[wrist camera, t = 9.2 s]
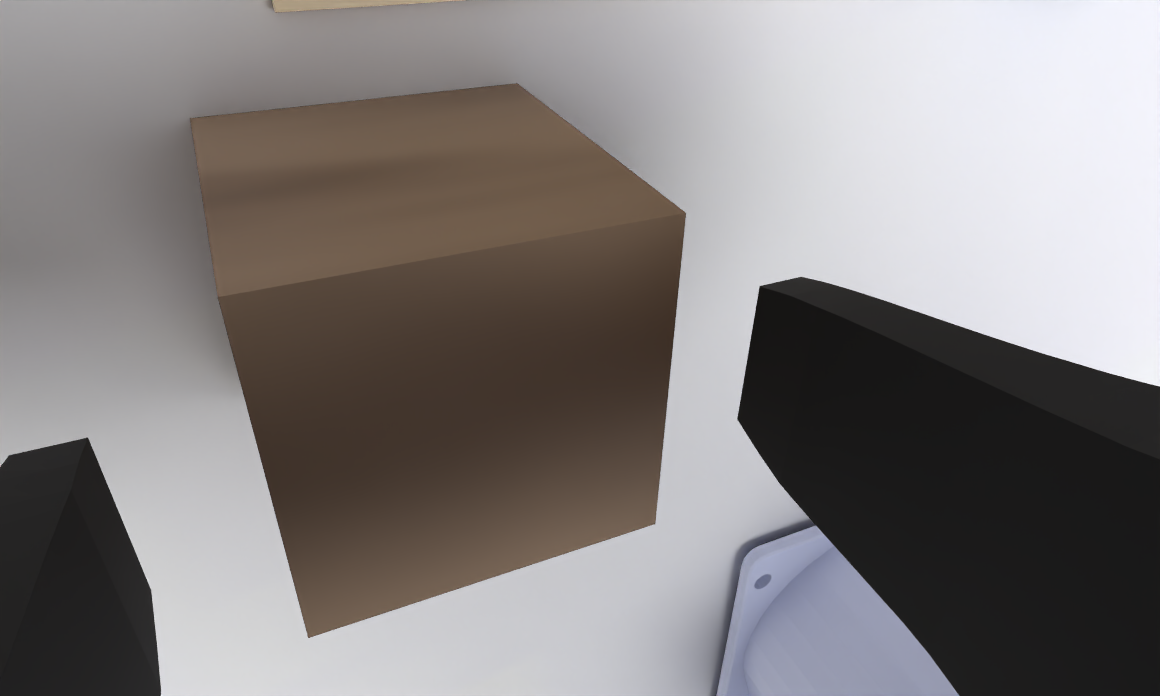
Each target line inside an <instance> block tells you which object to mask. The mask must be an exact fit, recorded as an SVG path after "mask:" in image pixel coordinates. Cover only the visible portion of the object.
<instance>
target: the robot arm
mask: <svg viewBox="0 0 1160 696" xmlns="http://www.w3.org/2000/svg"><path fill="white" fill-rule="evenodd" d="M738 421H739V423H740V424H741V426H742V427H743V429H744V430H745V432H746V434H747V435H748V437H749V438H750V440H751V442H752V443H753V445H754V446H755V448H756V449H757V451H758V453H759V454H760V456H761V457H762V459H763V460H764V461H765V463H766V464H767V466H768V467H769V469H770V470H771V472H772V473H773V474H774V476H775V477H776V479H777V480H778V482H779V483H780V484H781V486H782V487H783V488H784V489H785V490H786V491H787V493H788V494H789V495H790V496H791V497H792V499H793V500H794V501H795V502H796V503H797V504H798V505H799V507H800V508H801V509H802V510H803V511H804V512H805V513H806V515H807V516H808V517H809V518H810V519H811V520H812V521H813V523H814V524H815V525H816V526H813V527H810V528H807V529H804V530H802V531H799V532H796V533H793V534H790V535H788V536H785V537H782V538H779V539H776V540H774V541H771V542H768V543H765V544H762V545H760V546H758V547H756V548H754V549H752V550H751V551H750V552H749V553H748V554H747V555H746V556H745V558H744V560H743V562H742V566H741V571H740V576H739V582H738V587H737V592H736V597H735V602H734V608H733V613H732V618H731V623H730V628H729V634H728V639H727V644H726V649H725V654H724V660H723V665H722V670H721V675H720V680H719V686H718V691H717V696H1160V387H1159V386H1155V385H1151V384H1147V383H1143V382H1139V381H1135V380H1132V379H1128V378H1124V377H1120V376H1117V375H1113V374H1109V373H1106V372H1102V371H1099V370H1096V369H1092V368H1089V367H1086V366H1082V365H1079V364H1076V363H1072V362H1069V361H1066V360H1062V359H1059V358H1055V357H1052V356H1049V355H1045V354H1042V353H1039V352H1036V351H1033V350H1030V349H1026V348H1023V347H1020V346H1017V345H1014V344H1011V343H1008V342H1005V341H1002V340H999V339H996V338H993V337H990V336H987V335H984V334H981V333H978V332H975V331H972V330H969V329H966V328H963V327H960V326H957V325H954V324H951V323H948V322H945V321H942V320H939V319H936V318H934V317H931V316H928V315H925V314H922V313H919V312H916V311H913V310H910V309H907V308H904V307H901V306H898V305H895V304H892V303H890V302H887V301H884V300H881V299H878V298H875V297H871V296H868V295H865V294H862V293H859V292H856V291H853V290H849V289H846V288H843V287H839V286H836V285H832V284H829V283H825V282H821V281H817V280H813V279H808V278H804V277H799V278H794V279H790V280H785V281H781V282H776V283H772V284H767V285H763V286H760V288H759V294H758V300H757V306H756V312H755V318H754V324H753V329H752V335H751V341H750V347H749V353H748V359H747V365H746V371H745V377H744V383H743V389H742V395H741V401H740V407H739V413H738ZM0 696H161V686H160V675H159V664H158V652H157V642H156V632H155V623H154V614H153V604H152V595H151V589H150V587H149V584H148V582H147V579H146V577H145V575H144V572H143V570H142V567H141V565H140V562H139V560H138V558H137V555H136V553H135V550H134V548H133V546H132V543H131V541H130V538H129V536H128V533H127V531H126V529H125V526H124V524H123V521H122V519H121V517H120V514H119V512H118V509H117V507H116V504H115V502H114V500H113V497H112V495H111V492H110V490H109V488H108V485H107V483H106V480H105V478H104V475H103V473H102V471H101V468H100V466H99V463H98V461H97V458H96V456H95V454H94V451H93V449H92V446H91V444H90V442H89V439H88V438H84V439H80V440H75V441H71V442H67V443H62V444H58V445H53V446H49V447H44V448H40V449H36V450H31V451H27V452H22V453H18V454H13V455H9V456H8V458H7V459H6V460H5V462H4V463H3V464H2V465H1V467H0Z"/></svg>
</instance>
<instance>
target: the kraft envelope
mask: <svg viewBox="0 0 1160 696" xmlns="http://www.w3.org/2000/svg"><path fill="white" fill-rule="evenodd" d="M448 1H464V0H272V4H273V9H274V11H275V13H277V12H293V11H308V10H324V9H339V8H355V7H371V6H386V5H402V4H417V3H433V2H448Z"/></svg>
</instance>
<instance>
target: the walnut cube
mask: <svg viewBox="0 0 1160 696" xmlns="http://www.w3.org/2000/svg"><path fill="white" fill-rule="evenodd" d="M190 122H191V128H192V134H193V141H194V147H195V154H196V160H197V167H198V173H199V180H200V186H201V193H202V199H203V205H204V212H205V218H206V225H207V231H208V238H209V244H210V251H211V257H212V264H213V270H214V277H215V283H216V289H217V296H218V300H219V304H220V308H221V311H222V315H223V319H224V323H225V326H226V330H227V334H228V338H229V341H230V345H231V349H232V353H233V357H234V360H235V364H236V368H237V372H238V375H239V379H240V383H241V387H242V390H243V394H244V398H245V402H246V405H247V409H248V413H249V417H250V420H251V424H252V428H253V432H254V435H255V439H256V443H257V447H258V450H259V454H260V458H261V462H262V465H263V469H264V473H265V477H266V481H267V484H268V488H269V492H270V496H271V499H272V503H273V507H274V511H275V514H276V518H277V522H278V526H279V529H280V533H281V537H282V541H283V544H284V548H285V552H286V556H287V559H288V563H289V567H290V571H291V574H292V578H293V582H294V586H295V589H296V593H297V597H298V601H299V605H300V608H301V612H302V616H303V620H304V623H305V627H306V631H307V635H308V638H310V637H313V636H316V635H319V634H322V633H325V632H328V631H331V630H334V629H337V628H340V627H343V626H346V625H349V624H352V623H355V622H358V621H361V620H365V619H368V618H371V617H374V616H377V615H380V614H383V613H386V612H389V611H392V610H395V609H398V608H401V607H404V606H407V605H410V604H413V603H416V602H419V601H422V600H425V599H428V598H431V597H434V596H437V595H440V594H444V593H447V592H450V591H453V590H456V589H459V588H462V587H465V586H468V585H471V584H474V583H477V582H480V581H483V580H486V579H489V578H492V577H495V576H498V575H501V574H504V573H507V572H510V571H513V570H516V569H520V568H523V567H526V566H529V565H532V564H535V563H538V562H541V561H544V560H547V559H550V558H553V557H556V556H559V555H562V554H565V553H568V552H571V551H574V550H577V549H580V548H583V547H586V546H589V545H592V544H596V543H599V542H602V541H605V540H608V539H611V538H614V537H617V536H620V535H623V534H626V533H629V532H632V531H635V530H638V529H641V528H644V527H647V526H650V525H653V524H655V520H656V510H657V500H658V490H659V480H660V470H661V460H662V450H663V439H664V429H665V419H666V409H667V399H668V389H669V379H670V369H671V359H672V349H673V338H674V328H675V318H676V308H677V298H678V288H679V278H680V268H681V258H682V248H683V237H684V227H685V217H686V213H685V212H684V211H683V210H681V209H680V208H679V207H678V206H676V205H675V204H674V203H672V202H671V201H670V200H668V199H667V198H666V197H664V196H663V195H662V194H661V193H659V192H658V191H657V190H655V189H654V188H653V187H651V186H650V185H649V184H648V183H646V182H645V181H644V180H642V179H641V178H640V177H638V176H637V175H636V174H635V173H633V172H632V171H631V170H629V169H628V168H627V167H625V166H624V165H623V164H621V163H620V162H619V161H618V160H616V159H615V158H614V157H612V156H611V155H610V154H608V153H607V152H606V151H605V150H603V149H602V148H601V147H599V146H598V145H597V144H595V143H594V142H593V141H592V140H590V139H589V138H588V137H586V136H585V135H584V134H582V133H581V132H580V131H578V130H577V129H576V128H575V127H573V126H572V125H571V124H569V123H568V122H567V121H565V120H564V119H563V118H562V117H560V116H559V115H558V114H556V113H555V112H554V111H552V110H551V109H550V108H549V107H547V106H546V105H545V104H543V103H542V102H541V101H539V100H538V99H537V98H535V97H534V96H533V95H532V94H530V93H529V92H528V91H526V90H525V89H524V88H522V87H521V86H520V85H519V84H517V83H516V84H507V85H497V86H488V87H479V88H469V89H460V90H451V91H441V92H432V93H422V94H413V95H404V96H394V97H385V98H376V99H366V100H357V101H347V102H338V103H329V104H319V105H310V106H301V107H291V108H282V109H272V110H263V111H254V112H244V113H235V114H226V115H216V116H207V117H198V118H190Z"/></svg>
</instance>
